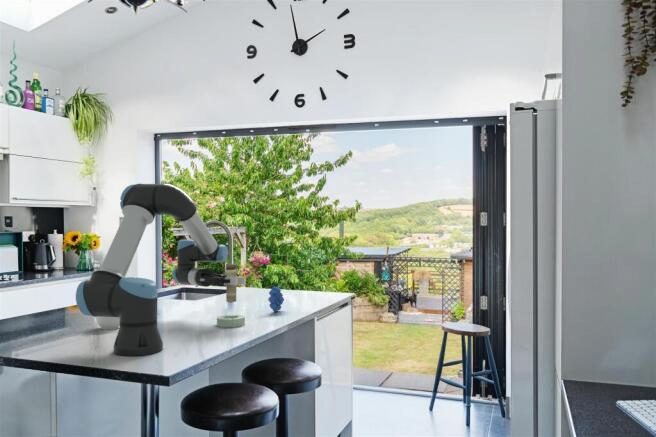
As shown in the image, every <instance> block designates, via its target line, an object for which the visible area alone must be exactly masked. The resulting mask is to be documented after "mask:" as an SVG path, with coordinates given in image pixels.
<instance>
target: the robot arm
mask: <svg viewBox="0 0 656 437" xmlns="http://www.w3.org/2000/svg"><path fill="white" fill-rule="evenodd" d="M119 205H120V209H121V212H122V214H123V218H122V220H121V222H120V224H119V226H118V227H117V231H116V233H115V235H114V236H113V238H112V242H111V244H110V246H109V248H108V250H107V253H106V255H105V257H104V259H103V262H102V264H101V266H100V268H99V269H96V270H94V271H93V272H92V274H91V276H90V278H89V279H85V280H82V281H80V283H79V284H78V285H77V287H76V291H75V301H76V306H77V309H78V310H79V311H80V313H81V314H83V315H84V316H90V317H95V318H96V317H97V316H99V317H120V326H119V328H118V332H117V334H116V337H115V341H114V344H113V353H114V354H115V355H118V356H128V357H134V356H136V357H137V356H146V355H152V354H156V353H158V352H159V353H160V352H161V351H163V346H164V343H163V340H162V337H161V333H160V331H159V330H160V329H159V327H158V296H159V293H158V285H157V283H156V282H155V281H154V280H152V279H149V278H143V277H135V276H134V277H133V276H131V277H130V276H129V277H126V276H127V274H128V271H129V268H130V267H131V266H130V265H131V264H132V262H133V258H134V256H135V254H136V253H137V250H138V247H139V245H140V242H141V240H142V239H143V238H142V237H143V235H144V233H145V230H146V228H147V226H148V225H151V224H152V223H153V222H154V220H155V218H156V216H165V215H166V216H170V217H172V218H173V219H174V220H175V221H176V222H179V223H180V224H181V226H182V227H183V228H184V230H185V231H186V233H187V234H188V235H189V237H190V239H180V240H177V241H178V242H177V249H176V251H177V266H175V268H174V269H173V271H172V272H171V278H172V280H173V282H175V283H176V284H179V285H180V284H181V285H189V286H195V288H198V287H203V288H204V287H205V288H208V287H210V286H212V284H214V285H220V286H222V287H223V286H225V285H226V284H228V285H236V286H238V284H239V285H247V282H246V281H247V278H246V277H245V276H238V275H236V278H229V277H226V273H222V274H220V273H215V272H213V271H212V269H210V268H203V267H196V262H198V263H224V262H226V261H227V259H228V256H229V249H228V246H226V245H225V244H219V243H218V242H217V241H216V239H215V237H214V236H213V234H212V233H211V232H210V230H209V228H208V227H207V225H206V223H205V221H203V219H202V217H201V216H200V214H199V213H198V211H197V210H198V208H197V205H196V203H195V201H194V200H193V199H192V198H191V196H189V195H188V193H186V192H185V191H184V190H182V189H181V188H180V187H177V186H176V185H172V184H170V183H136V184H134V183H133V184H130V185H128V186H126V187H125V188H124V190H123V191H122V192H121V195H120V203H119Z"/></svg>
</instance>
